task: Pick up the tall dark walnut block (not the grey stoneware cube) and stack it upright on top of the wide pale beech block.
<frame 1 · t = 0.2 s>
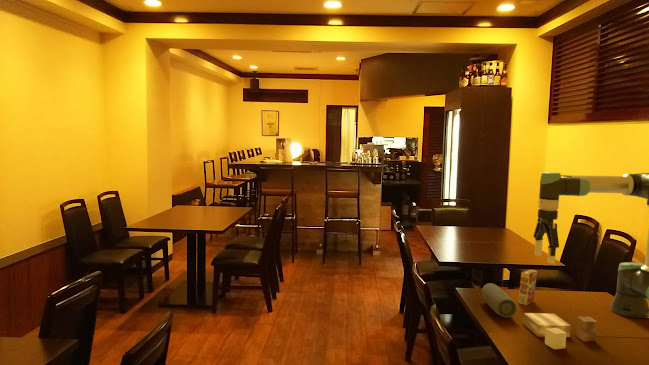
hand: (544, 259, 202), 28 cm above the table, fingers open, 13 cm apart
walnut block: (585, 338, 190), on the table
bluetooth speaker: (497, 311, 218), on the table
stoneware cube: (554, 346, 182), on the table
beech block: (545, 330, 197), on the table
candy box: (526, 302, 230), on the table
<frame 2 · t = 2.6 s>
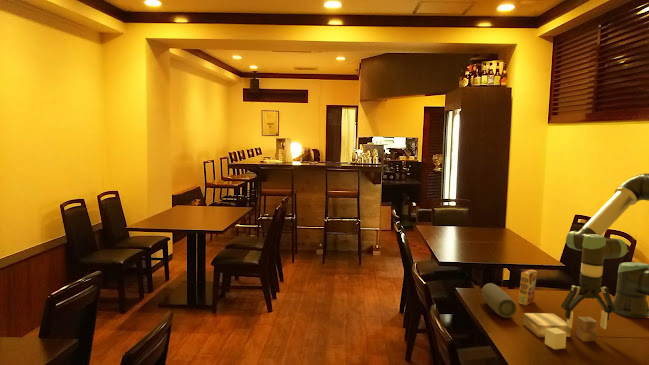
hand: (586, 327, 189), 5 cm above the table, fingers open, 13 cm apart
nothing on the table moved.
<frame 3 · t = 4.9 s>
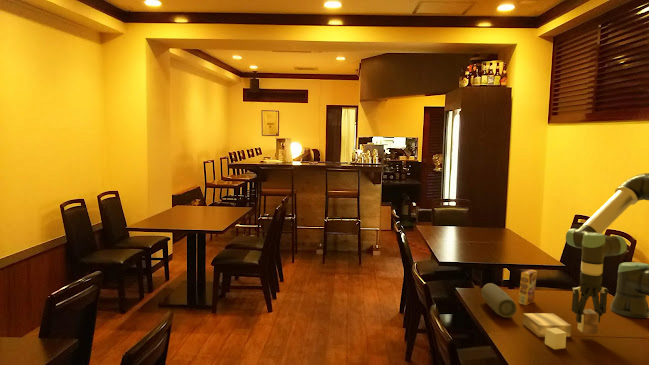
hand: (587, 330, 189), 3 cm above the table, fingers closed on walnut block, 5 cm apart
walnut block: (587, 331, 190), point 3 cm above the table, touching gripper
everything else where it was.
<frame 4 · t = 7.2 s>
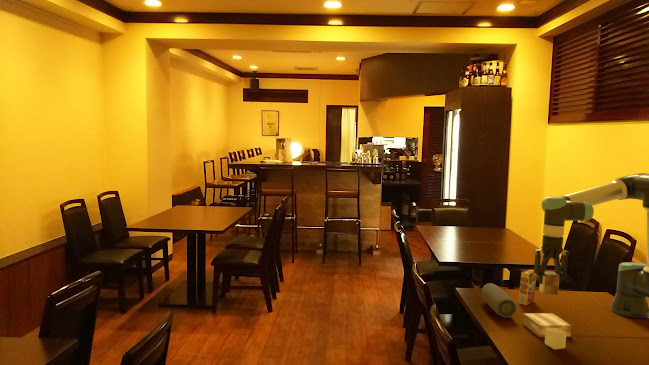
hand: (548, 291, 196), 16 cm above the table, fingers closed on walnut block, 5 cm apart
walnut block: (548, 292, 196), point 16 cm above the table, touching gripper
everything else where it was.
when the fingers open (6 cm above the table, at t = 9.3 s): walnut block stays where it is, point 5 cm above the table.
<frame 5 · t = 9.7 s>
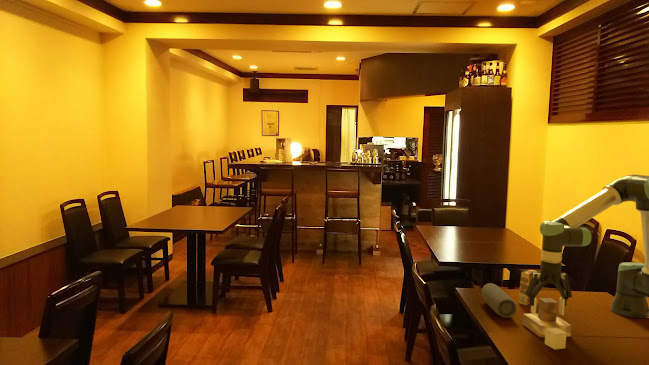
hand: (547, 313, 196), 7 cm above the table, fingers open, 11 cm apart
walnut block: (546, 319, 197), point 5 cm above the table
everything else where it was.
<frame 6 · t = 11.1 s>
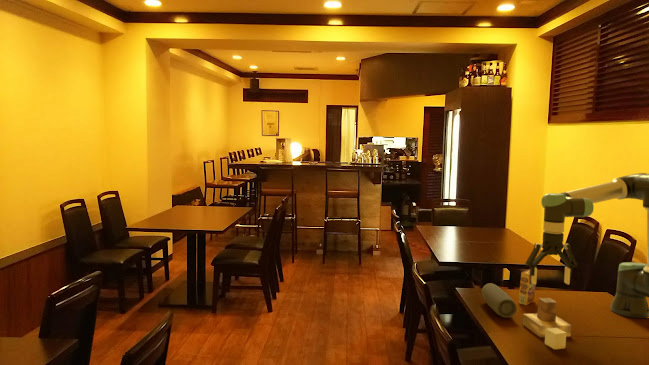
hand: (550, 283, 195), 20 cm above the table, fingers open, 13 cm apart
walnut block: (546, 319, 197), point 5 cm above the table, touching beech block
beech block: (545, 331, 197), on the table, touching walnut block
everything else where it was.
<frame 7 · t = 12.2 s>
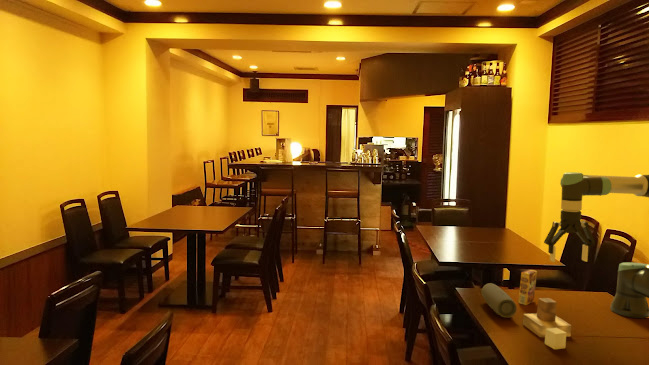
hand: (568, 261, 199), 28 cm above the table, fingers open, 13 cm apart
walnut block: (545, 319, 197), point 5 cm above the table
beech block: (545, 331, 197), on the table
everything else where it was.
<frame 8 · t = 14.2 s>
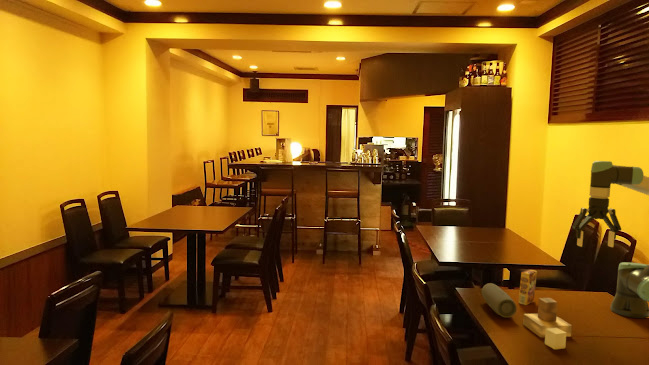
hand: (594, 246, 207), 33 cm above the table, fingers open, 13 cm apart
nothing on the table moved.
at the end: walnut block inside the target area on the beech block (0.3 cm from its centre), point 5.0 cm above the beech block's base; walnut block tilted 0°; the gripper is holding nothing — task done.
